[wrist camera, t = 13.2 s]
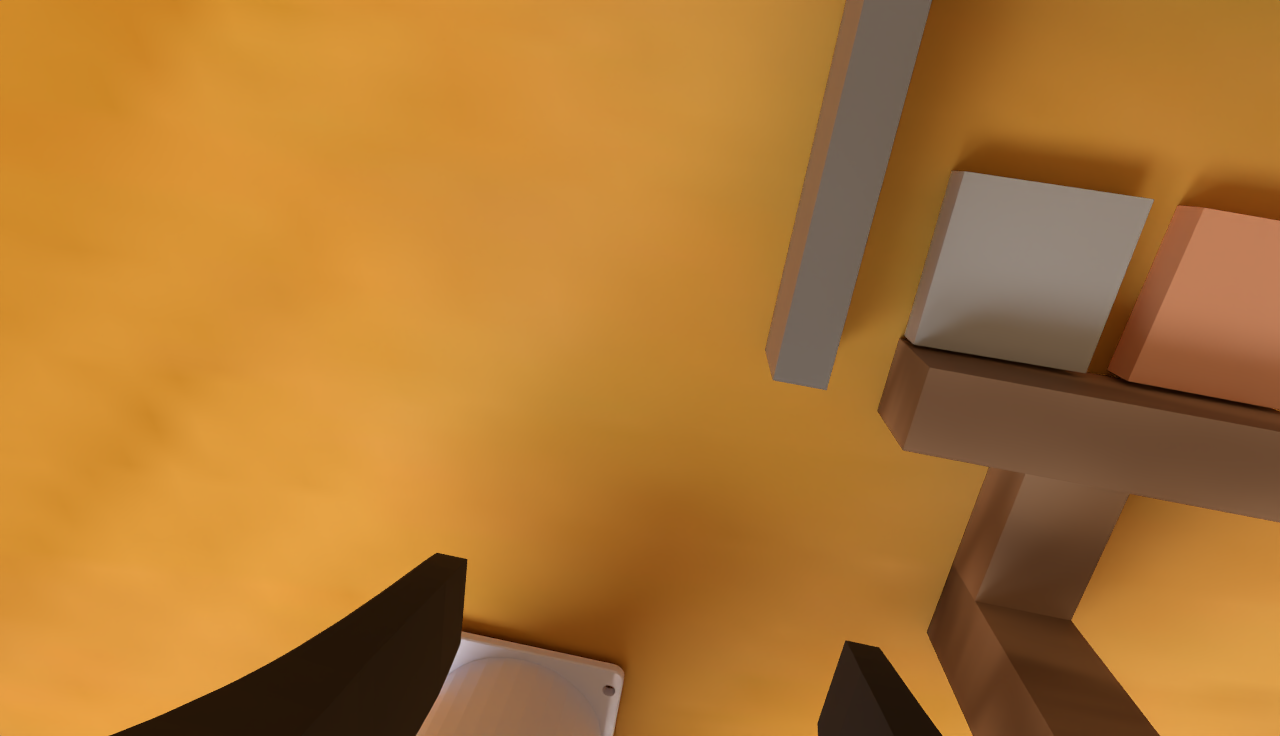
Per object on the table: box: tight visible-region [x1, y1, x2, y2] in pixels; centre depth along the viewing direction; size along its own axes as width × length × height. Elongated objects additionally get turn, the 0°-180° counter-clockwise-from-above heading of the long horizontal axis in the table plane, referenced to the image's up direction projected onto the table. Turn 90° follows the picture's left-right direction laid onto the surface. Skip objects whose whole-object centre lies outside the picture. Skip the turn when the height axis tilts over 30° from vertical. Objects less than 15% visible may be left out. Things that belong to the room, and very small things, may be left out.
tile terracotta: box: [1107, 205, 1280, 410], centre depth 18 cm, size 5×5×2 cm
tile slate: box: [904, 171, 1154, 373], centre depth 19 cm, size 5×5×2 cm
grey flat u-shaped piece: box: [765, 0, 932, 390], centre depth 16 cm, size 14×19×3 cm
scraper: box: [878, 338, 1280, 736], centre depth 17 cm, size 10×11×9 cm
